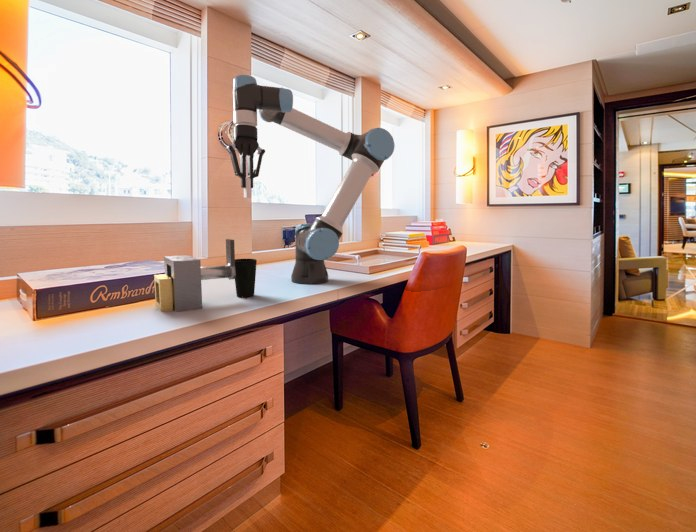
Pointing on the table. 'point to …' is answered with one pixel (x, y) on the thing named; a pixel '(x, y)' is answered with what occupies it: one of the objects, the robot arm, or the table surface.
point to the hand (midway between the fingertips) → (247, 197)
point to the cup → (245, 277)
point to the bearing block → (184, 281)
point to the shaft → (222, 270)
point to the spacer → (163, 292)
